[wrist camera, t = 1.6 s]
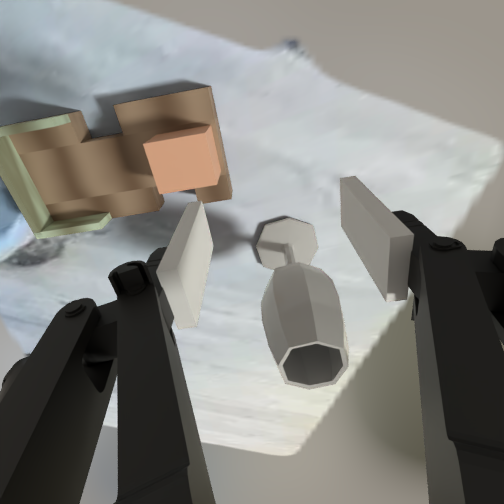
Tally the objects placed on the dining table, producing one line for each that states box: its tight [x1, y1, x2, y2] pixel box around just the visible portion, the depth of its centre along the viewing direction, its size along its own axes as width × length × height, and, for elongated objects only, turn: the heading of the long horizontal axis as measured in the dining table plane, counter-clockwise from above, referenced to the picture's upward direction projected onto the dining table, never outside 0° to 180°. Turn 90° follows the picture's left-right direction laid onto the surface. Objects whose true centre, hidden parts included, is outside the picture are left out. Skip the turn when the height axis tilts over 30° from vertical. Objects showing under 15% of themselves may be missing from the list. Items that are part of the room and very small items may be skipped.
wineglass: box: [256, 217, 349, 389], centre depth 35 cm, size 9×9×21 cm
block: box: [143, 125, 221, 194], centre depth 33 cm, size 6×5×5 cm
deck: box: [0, 86, 232, 239], centre depth 35 cm, size 23×12×6 cm, turn 99°
